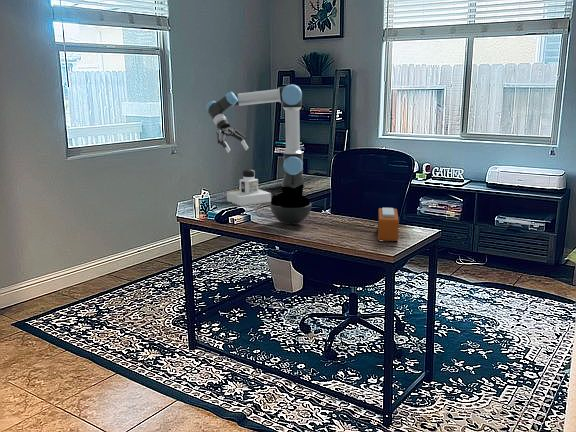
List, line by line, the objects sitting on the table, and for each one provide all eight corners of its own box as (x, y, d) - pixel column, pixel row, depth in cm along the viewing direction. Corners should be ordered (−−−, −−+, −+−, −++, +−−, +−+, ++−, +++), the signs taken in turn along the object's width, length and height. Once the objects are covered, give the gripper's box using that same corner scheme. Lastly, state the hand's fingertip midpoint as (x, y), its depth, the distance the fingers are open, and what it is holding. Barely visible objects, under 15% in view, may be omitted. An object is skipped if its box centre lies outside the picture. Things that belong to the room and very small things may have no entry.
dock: (257, 196, 334) (257, 188, 333) (271, 201, 321) (271, 192, 320) (227, 200, 324) (226, 191, 323) (240, 206, 311) (239, 196, 309)
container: (249, 194, 316) (248, 171, 313) (239, 192, 321) (238, 170, 318) (258, 192, 322) (258, 170, 319) (248, 190, 327) (248, 168, 324)
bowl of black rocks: (274, 230, 262) (273, 190, 258) (267, 219, 281) (266, 182, 277) (315, 228, 266) (316, 188, 262) (306, 217, 285) (306, 181, 281)
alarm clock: (377, 228, 267) (378, 204, 264) (395, 228, 266) (396, 205, 263) (378, 242, 244) (379, 217, 241) (397, 243, 243) (399, 217, 240)
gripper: (235, 126, 351) (251, 152, 344) (202, 128, 334) (218, 156, 327) (240, 117, 346) (257, 144, 339) (207, 120, 329) (224, 148, 322)
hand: (238, 150), depth 333 cm, fingers open, 13 cm apart
